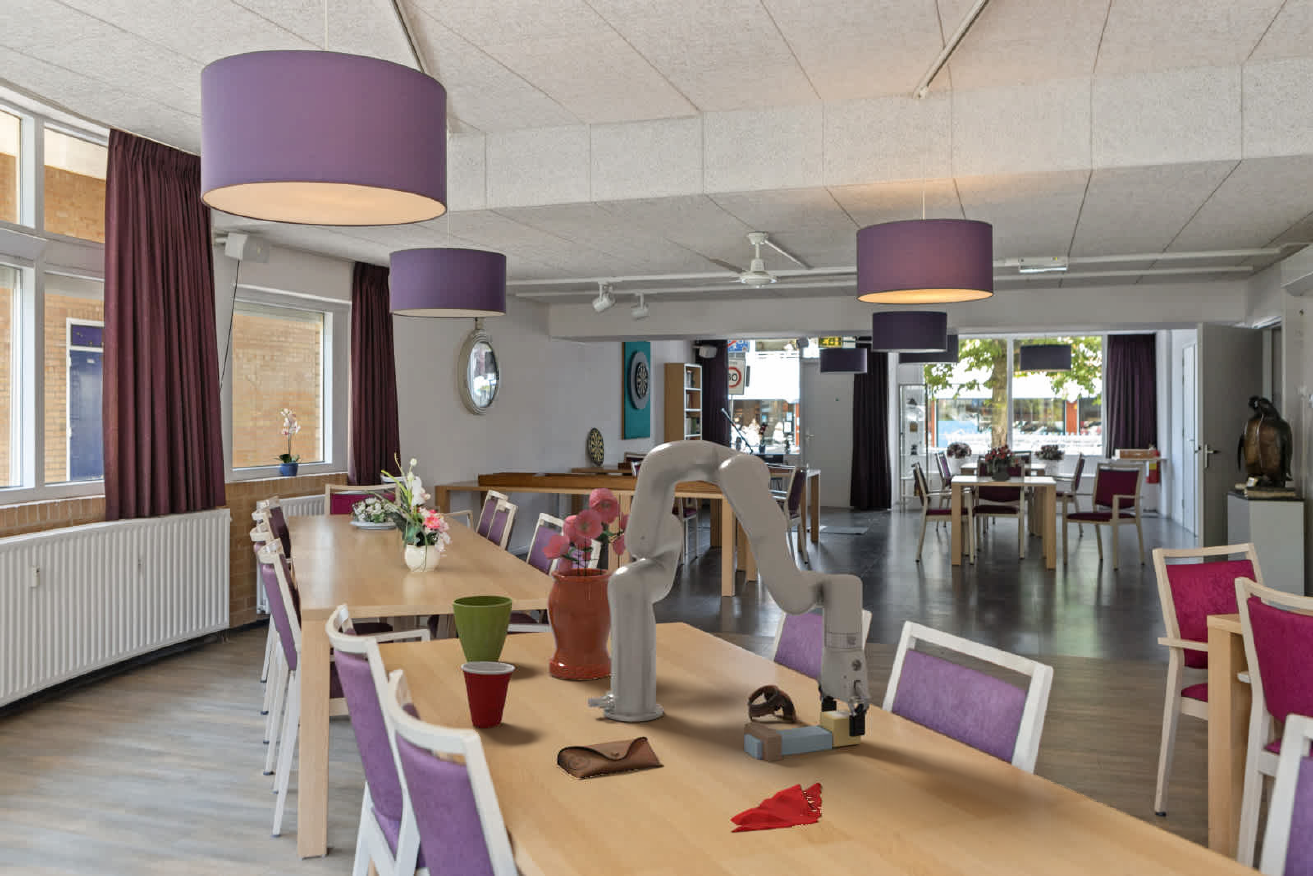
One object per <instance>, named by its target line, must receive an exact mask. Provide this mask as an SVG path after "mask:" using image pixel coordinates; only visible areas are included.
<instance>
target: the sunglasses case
mask: <svg viewBox="0 0 1313 876" xmlns="http://www.w3.org/2000/svg"><path fill="white" fill-rule="evenodd" d="M557 765H559V766H560V767H561V768H562V769H564V770H565V771H566V772H567V773H568V774H571V775H572V776H574V777H576V778H585V777H589V778H591V777H590V776H595V775H600V776H602V775H601V774H606V775H611V774H610V773H612V774H617V773H616V772H619V773H624V772H623V771H625V772H629V771H628V770H632V771H636V770H635V769H639V770H645V769H652V768H653V767H654V768H660V767H664V764H662V763H661V762H660V760H659V758H658V757H657V755H656V754H655V752H654V749H653V748H652V747H651V744H650V742H649V741H648V737H647V736H640V737H639V736H638V737H635V738H633V739H626V740H625V739H624V740H617V741H616V740H615V741H609V742H608V741H607V742H606V741H605V742H600V743H594V744H589V745H572V746H565V747H563V748H561V749H560V750H559V751H558V753H557V757H556V766H557ZM568 774H567V775H568ZM595 777H596V776H595ZM585 779H586V778H585Z"/></svg>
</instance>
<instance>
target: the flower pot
mask: <svg viewBox="0 0 1313 876" xmlns="http://www.w3.org/2000/svg"><path fill="white" fill-rule="evenodd" d="M512 607H513V598H510V597H507V596H502V595H473V596H472V595H471V596H463V597H459V598H456V599H454V600H453V601H452V609H453V615H454V616H453V617H454V621H455V626H456V631H457V635H458V639H459V642H460V646H461V649H462V651H463V655H464V657H465V660H466V663H470V662H497V663H499V660H500V657H501V655H502V652H503V649H504V645H505V642H506V638H507V635H508V632H509V631H508V630H509V627H510V626H509V625H510V622H511V621H510V620H511V614H512V609H513V608H512Z"/></svg>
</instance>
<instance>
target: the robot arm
mask: <svg viewBox="0 0 1313 876" xmlns="http://www.w3.org/2000/svg"><path fill="white" fill-rule="evenodd" d="M640 464H641V465H640V466H639V467H640V468H639V470H638V475H637V478H636V480H637V481H636V483H635V490H634V494H633V497H632V501H631V506H630V510H629V513H628V514H629V518H628V522H627V526H626V530H625V533H624V535H625V536H624V544H625V547H626V549H625V550H626V551H627V553H629V555H631V556H632V557H634V558H635V559H636V561H634V562H633V561H632V562H629V563H627V564H624V565H621V566H619V567H618V568H617V569H615V570H614V571H613V572H612V576H611V577H610V579H609V582H608V587H607V595H608V602H609V608H610V618H611V631H610V656H611V675H610V690H606V691H605V692H606V693H605V694H603V695H601V696H600V697H597V696H595V697H589V698H588V699H587V704H588V705H587V706H588V707H589V708H596V707H597V708H598V709H599V710H602V711H603V712H602V713H603V715H604V716H605V717H607V718H608V719H610V720H613V721H620V722H631V723H632V722H635V723H636V722H647V721H653V720H655V719H659V718H660V717H662V716H663V714H664V708H663V706H662V705H661V704H660V703H657V702H656V701H657V700H656V699H657V695H656V694H657V692H656V691H657V626H656V625H657V624H656V618H655V613H654V607H653V604H654V603H657V602H659V601H661V600H663V599H664V598H665V597H666V596H667V595H668V594H669V593H670V591H671V589H672V587H673V585H674V584H673V583H674V581H675V576H676V572H677V568H678V563H679V559H680V555H681V550H682V547H683V541H684V532H683V526H682V523H681V521H680V520H679V518H678V517H677V516H676V515H674V514H673V513H672V512H673V508H674V505H675V499H676V498H675V497H676V486H677V484H678V483H683V482H684V483H685V482H696V481H704V482H707V483H709V484H712V485H713V484H714V485H716V486H718V487H719V489H720V491H721V493H722V494H723V496H724V498H725V499H726V501H727V503H728V505H729V506H730V508H731V510H732V511H733V514H734V515H735V516H736V518H737V520H738V522H739V523H740V526H741V528H742V529H743V531H744V533H745V535H746V536H747V539H748V541H749V546H750V551H751V553H752V558H753V560H754V563H755V567H756V570H757V573H758V574H759V577H760V578H761V580H762V582H763V584H764V586H765V588H766V589H767V591H768V593H769V595H770V596H771V598H772V599H773V601H774V603H775V604H776V606H778V608H779V609H780V610H781V611H783V612H784V613H786V614H787V615H790V616H802V615H805V614H807V613H809V612H810V611H812V610H815V609H818V608H822V653H821V661H820V662H821V664H820V673H819V674H816V677H815V678H816V682H817V685H818V687H817V690H818V692H819V701H820V702H821V704H820V705H821V706H820V710H821V712H827V711H836V710H838V708H837V707H838V705H837V704H838V703H837V700H838V701H840V702H842V703H845V704H847V707H848V710H849V711H850V712H851V714H852V715H849V736H851V737H856V736H861V737H862V736H865V734H866V715H867V714H868V711H869V709H870V703H871V701H872V696H871V694H870V693H869V681H868V668H867V662H866V661H867V659H866V655H865V650H864V647H863V645H864V644H863V641H864V640H863V582H862V580H861V578H860V577H858V576H856V575H853V574H847V573H839V574H837V573H836V574H830V573H824V572H820V571H815V570H802V571H801V570H800V569H799V567H798V566H797V564H796V562H795V560H794V557H793V556H792V553H791V551H790V548H789V545H788V540H787V530H788V528H787V527H788V522H787V517H786V515H785V513H784V511H783V510H782V508H781V506H780V504H779V503H778V501H777V500H776V498H775V497H774V495H773V493H772V490H770V488H769V484H770V480H771V474H770V469H769V467H768V465H767V463H766V462H765V460H763V459H762V458H761V457H759V456H757V455H755V454H751V453H748V452H746V451H740V450H737V449H734V448H732V447H728V446H726V445H725V446H724V445H722V444H718V443H716V442H713V441H708V440H704V439H695V440H694V439H683V440H682V439H681V440H674V441H670V442H665V443H662V444H660V445H657V446H655V447H654V448H652V449H651V450H650V451H649V452H648V453H647V454H646V455H645V457H644V458H643V460H642V462H641V463H640ZM855 704H857V705H856V706H855Z"/></svg>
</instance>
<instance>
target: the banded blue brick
mask: <svg viewBox="0 0 1313 876" xmlns="http://www.w3.org/2000/svg"><path fill="white" fill-rule="evenodd" d="M743 729H744V733H743V734H744V735H743V739H744V741H743V742H744V744H743V745H744V746H743V748H744V750H743V751H745V753H747V754H748V755H750V756H751V757H753V758H755V759H757V760H758V759H759V760H761V759H763V760H764V761H765V762H775V761H782V758H783V757H782V756H788V755H789V756H790V755H795V754H804V753H811V752H819V751H825V750H826V751H827V750H832V749H833V746H832V732H831V731H829V730H827V729H825V728H823V727H821V726H820V724H817V725H813V726H803V727H796V728H795V727H794V728H788V729H787V728H786V729H778V730H773V729H772V728H769V727H768V726H766V725H764V724H763V723H761V722H759V721H755V722H748V723H744V728H743Z"/></svg>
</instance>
